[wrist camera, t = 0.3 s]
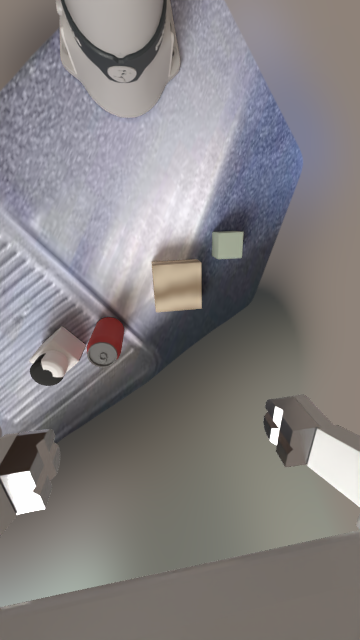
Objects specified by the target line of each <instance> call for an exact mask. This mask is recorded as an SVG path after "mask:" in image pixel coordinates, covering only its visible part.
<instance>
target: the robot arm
mask: <svg viewBox="0 0 360 640" xmlns="http://www.w3.org/2000/svg"><path fill="white" fill-rule="evenodd" d="M56 7H57V12H58V14H59V15H60V57H61V61H62V64H63V66H64V68H65V69H66V70H67V71H68V72H69V73H70V74H72V75H73V76H74V77H75V78H77V79H78V80H80V82H81V83H82V84H83V85H84V87H85V88H86V90H87V91H88V93H89V94H90V96H91V97H92V98H93V99H94V101H95V102H96V103H97V104H98V105H99V106H100V107H102V108H103V109H104V110H106V111H107V112H109V113H111V114H113V115H115V116H118V117H123V118H134V117H138V116H141V115H143V114H145V113H146V112H148V111H149V110H150V109H152V108H153V106H154V105H155V104H156V103H157V101H158V100H159V98H160V96H161V94H162V92H163V90H164V88H165V86H166V84H167V83H168V82H169V81H170V80H171V79H173V78H174V77H175V76H176V75H177V74H178V72H179V70H180V56H179V50H178V44H177V38H176V32H175V26H174V20H173V15H172V9H171V3H170V0H56ZM172 53H173V54H174V56H173V57H172ZM265 408H266V409H267V411H268V412H267V413H266V414H265V416H264V421H263V423H264V429H265V432H266V435H267V436H268V438H269V440H270V441H271V442H272V443H274V444H275V445H277V446H276V452H277V454H278V456H279V458H280V459H281V461H282V463H283V464H284V466H285V467H291V466H298V465H305V464H307V466H308V467H310V468H311V469H312V470H313V471H315V472H316V473H317V474H319V475H320V476H321V477H322V478H323V479H325V480H326V481H327V482H329V483H330V484H331V485H332V486H334V487H335V488H336V489H337V490H339V491H340V492H341V493H343V494H344V495H345V496H347V497H348V498H349V499H350V500H351V501H353V502H354V503H355V504H356V505H358V506H359V507H360V436H359V435H357V434H355V433H353V432H351V431H349V430H347V429H345V428H343V427H341V426H339V425H333V424H332V423H331V421H330V420H329V419H328V418H327V417H326V416H325V415H324V414H323V413H322V412H321V411H320V410H319V409H318V408H317V407H316V406H315V404H314V403H313V402H312V401H311V400H310V399H309V398H308V397H307V396H306V395H296V396H291V397H282V398H276V399H269V400H267V402H266V405H265ZM54 438H55V435H54V432H53V430H51V429H47V430H38V431H29V432H21V433H13V434H5V435H4V436H3V437H1V438H0V536H1V535H2V533H3V532H4V531H5V530H6V529H7V527H8V526H9V525H10V524H11V523H12V521H13V520H14V519H15V518H16V517H17V515H16V514H21V513H26V512H31V511H36V510H41V509H45V507H46V504H47V502H48V498H49V496H50V493H51V490H52V485H51V482H50V481H51V479H52V478H54V477H55V475H56V474H57V472H58V468H59V464H60V449H59V446H58V445H57V444H55V443H54V442H53V441H54ZM356 525H357V527H358V528H359V529H360V515H359V517H358V519H357V524H356ZM0 640H360V530H359V531H354V532H349V533H344V534H340V535H335V536H331V537H326V538H321V539H316V540H312V541H308V542H302V543H298V544H294V545H288V546H284V547H279V548H274V549H270V550H265V551H260V552H256V553H251V554H247V555H242V556H237V557H232V558H228V559H223V560H218V561H214V562H209V563H204V564H199V565H195V566H191V567H185V568H181V569H176V570H171V571H167V572H162V573H158V574H153V575H148V576H143V577H139V578H134V579H130V580H125V581H120V582H115V583H111V584H106V585H102V586H97V587H92V588H87V589H83V590H78V591H73V592H69V593H64V594H59V595H55V596H50V597H45V598H41V599H36V600H32V601H27V602H22V603H17V604H13V605H8V606H4V607H0Z"/></svg>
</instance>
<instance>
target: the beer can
mask: <svg viewBox="0 0 360 640" xmlns="http://www.w3.org/2000/svg"><path fill="white" fill-rule="evenodd" d="M123 336H124V327H123V324H122V323H121V322H120V321H119V320H117V319H115V318H112V317H106V318H103V319H101V320H99V321H98V323H97V324H96V326H95V329H94V331H93V333H92V335H91V338H90V340H89V342H88V345H87V356H88V359H89V361H90V362H91V363H92V364H93V365H95V366H97V367H108V366H111V365H112V364H114V363H115V361H116V360H117V359H118V357H119V356H120V353H121V348H122V342H123Z"/></svg>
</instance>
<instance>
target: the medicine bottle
mask: <svg viewBox="0 0 360 640" xmlns="http://www.w3.org/2000/svg"><path fill="white" fill-rule="evenodd" d="M85 347H86V345H85V344H84V343H83V342H82V341H80V340H79V339H78V338H77V337H75V336H74V335H73V334H72V333H70V332H69V331H68V330H67V329H65V328H64V327H60V328H59V329H58V330H57V331H56V332H55V333H54V334H53V335H51V336H50V337H49V338H48V339H47V340H46V341H45V342H44V343H43V344H42V345H41V346H40V347H39V349H38V350H37V351H36V352H35V354H34V355H33V356H32V357H31V359H30V360H29V361H30V362H31V363H32V364H33V365H32V366H31V368H30V374H31V377H32V378H33V379H34V380H35V381H36V382H37V383H39V384H41V385H46V386H51V385H55V384H58V383H59V382H60V381H61V380H62V379H63V377H64V375H65V373H66V372H67V371H68V370H70V369H71V368H72V367H73V366H74V365H75V364H76V363H78V362H79V360H80V358H81V356H82V354H83V351H84V349H85Z"/></svg>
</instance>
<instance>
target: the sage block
mask: <svg viewBox="0 0 360 640" xmlns="http://www.w3.org/2000/svg"><path fill="white" fill-rule="evenodd" d="M242 246H243V232H239V231H222V232H212V256H213V257H215V258H217V259H230V258H242Z"/></svg>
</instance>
